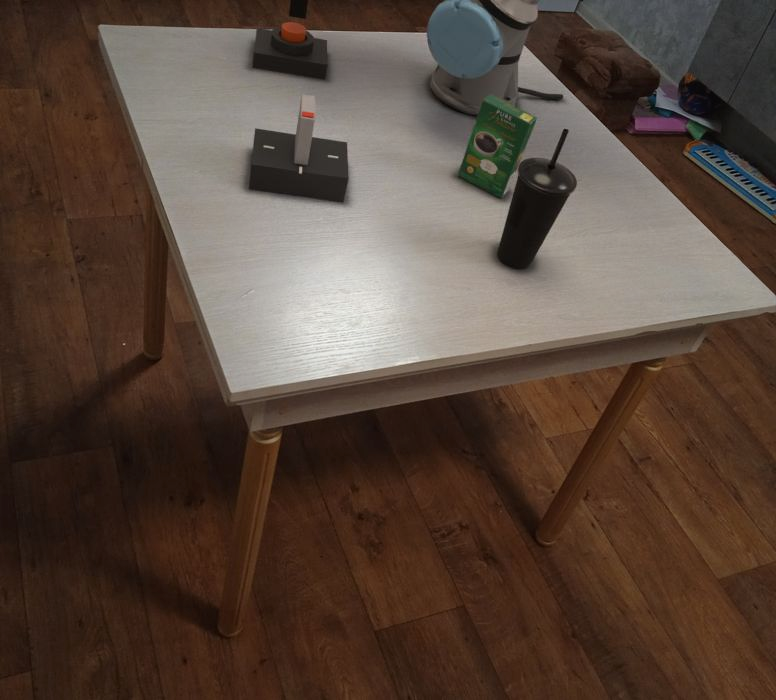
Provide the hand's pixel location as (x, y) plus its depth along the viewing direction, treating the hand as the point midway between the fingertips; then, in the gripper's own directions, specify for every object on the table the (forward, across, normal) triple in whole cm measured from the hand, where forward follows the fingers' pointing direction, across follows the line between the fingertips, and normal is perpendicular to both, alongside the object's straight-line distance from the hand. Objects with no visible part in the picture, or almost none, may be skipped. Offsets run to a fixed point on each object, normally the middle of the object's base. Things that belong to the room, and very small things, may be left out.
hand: (297, 15), depth 134 cm
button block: (+8, 0, 0) cm, 8 cm away
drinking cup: (+9, +46, +32) cm, 56 cm away
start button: (+4, 0, 0) cm, 4 cm away
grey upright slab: (+4, +34, +2) cm, 34 cm away
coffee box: (+9, +29, +30) cm, 42 cm away
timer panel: (+8, +34, +2) cm, 35 cm away
